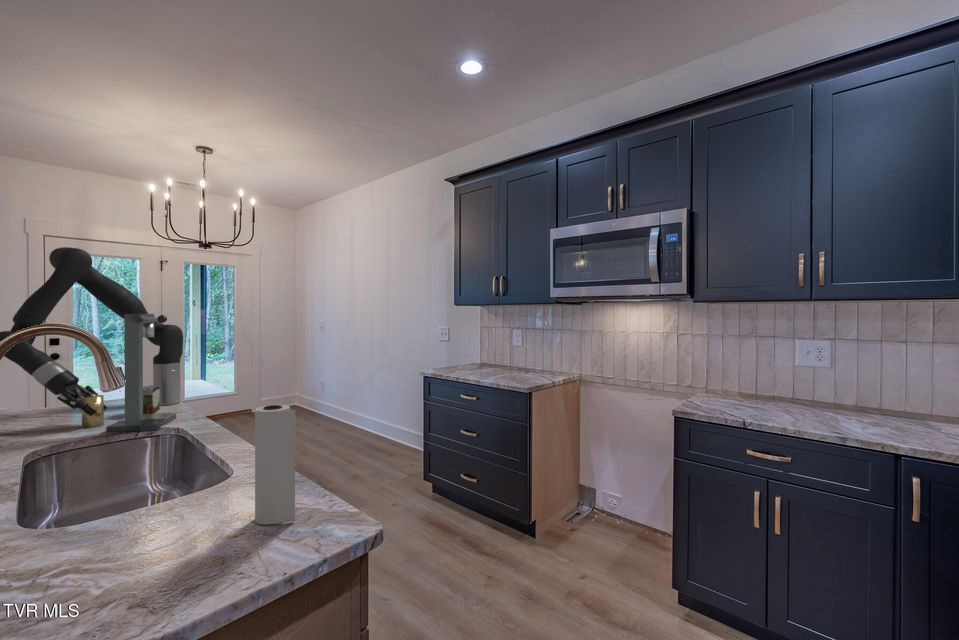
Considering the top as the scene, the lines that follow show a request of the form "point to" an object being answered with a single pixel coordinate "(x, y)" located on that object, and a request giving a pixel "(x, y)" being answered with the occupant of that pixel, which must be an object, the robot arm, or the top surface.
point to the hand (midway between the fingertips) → (99, 411)
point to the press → (137, 377)
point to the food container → (151, 399)
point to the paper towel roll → (274, 464)
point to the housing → (98, 417)
